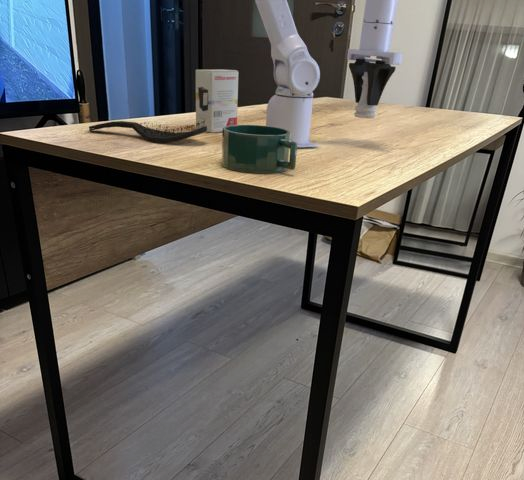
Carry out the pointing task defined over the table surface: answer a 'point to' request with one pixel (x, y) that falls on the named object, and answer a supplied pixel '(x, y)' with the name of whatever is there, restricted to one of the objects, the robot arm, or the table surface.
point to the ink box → (216, 99)
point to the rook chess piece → (365, 102)
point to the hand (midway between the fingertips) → (366, 104)
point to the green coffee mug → (257, 149)
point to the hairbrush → (154, 131)
